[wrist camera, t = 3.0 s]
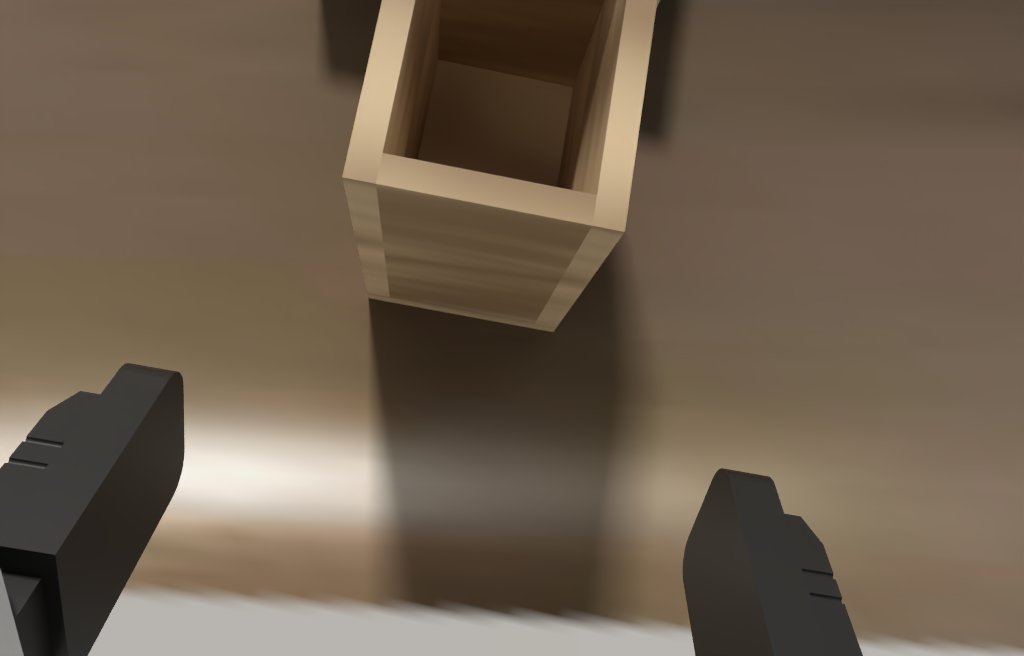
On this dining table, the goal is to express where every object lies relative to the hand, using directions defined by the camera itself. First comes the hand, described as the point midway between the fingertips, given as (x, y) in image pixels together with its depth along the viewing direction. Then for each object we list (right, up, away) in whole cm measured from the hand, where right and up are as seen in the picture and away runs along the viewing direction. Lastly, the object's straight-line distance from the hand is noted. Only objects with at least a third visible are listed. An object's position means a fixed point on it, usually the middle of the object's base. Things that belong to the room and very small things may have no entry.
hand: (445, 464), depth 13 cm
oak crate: (0, +7, +16) cm, 17 cm away
